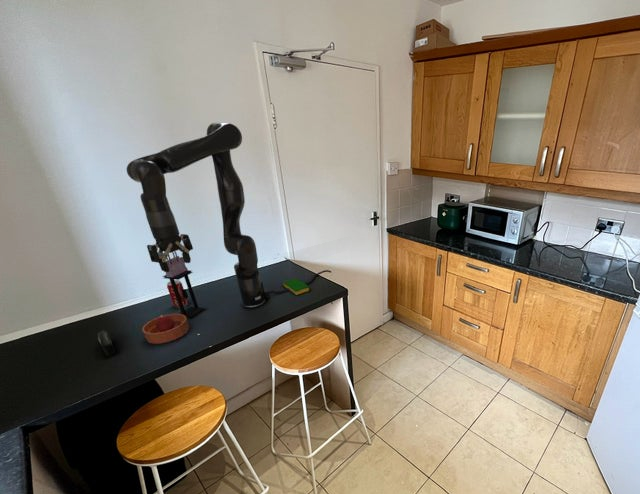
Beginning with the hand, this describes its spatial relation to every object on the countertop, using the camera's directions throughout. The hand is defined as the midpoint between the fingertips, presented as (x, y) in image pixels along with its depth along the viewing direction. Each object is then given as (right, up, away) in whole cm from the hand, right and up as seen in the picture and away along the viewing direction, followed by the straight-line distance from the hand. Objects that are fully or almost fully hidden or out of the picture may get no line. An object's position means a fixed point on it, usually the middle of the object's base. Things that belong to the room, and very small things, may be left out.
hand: (177, 266), depth 113 cm
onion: (-11, -26, +10) cm, 30 cm away
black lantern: (-12, -19, +25) cm, 34 cm away
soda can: (-20, -16, +31) cm, 40 cm away
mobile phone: (-28, -30, +3) cm, 41 cm away
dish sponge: (+28, -9, +46) cm, 55 cm away
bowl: (-11, -26, +11) cm, 30 cm away
